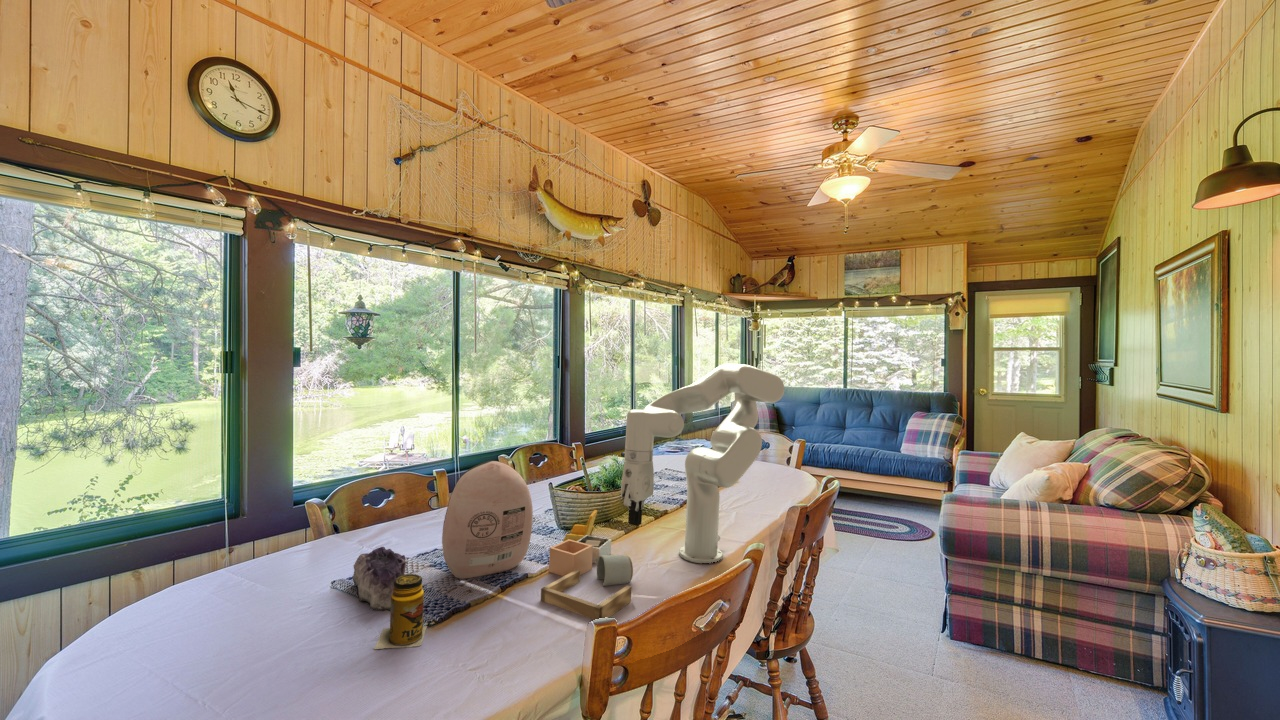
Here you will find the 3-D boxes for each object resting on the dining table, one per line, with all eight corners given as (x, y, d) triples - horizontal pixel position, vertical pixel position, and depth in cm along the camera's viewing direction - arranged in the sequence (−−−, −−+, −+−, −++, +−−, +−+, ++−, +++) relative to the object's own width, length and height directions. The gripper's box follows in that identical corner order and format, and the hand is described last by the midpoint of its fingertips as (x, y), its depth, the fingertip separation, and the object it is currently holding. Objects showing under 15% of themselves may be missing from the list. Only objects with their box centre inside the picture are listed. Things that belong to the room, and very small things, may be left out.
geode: (421, 604, 121) (417, 562, 120) (365, 624, 114) (360, 580, 113) (402, 568, 137) (398, 531, 136) (352, 584, 131) (347, 545, 130)
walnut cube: (586, 553, 152) (587, 539, 152) (600, 554, 152) (600, 541, 152) (583, 559, 148) (584, 544, 148) (597, 560, 148) (598, 546, 148)
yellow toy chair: (568, 534, 170) (569, 505, 170) (597, 536, 169) (598, 508, 168) (558, 545, 160) (559, 515, 159) (589, 548, 158) (590, 518, 158)
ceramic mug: (634, 587, 133) (635, 558, 133) (604, 591, 130) (605, 561, 130) (620, 572, 143) (620, 544, 143) (591, 575, 140) (592, 547, 140)
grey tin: (585, 551, 155) (586, 534, 155) (610, 556, 152) (611, 539, 152) (572, 561, 148) (573, 543, 148) (598, 566, 145) (599, 548, 145)
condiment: (421, 646, 104) (423, 585, 104) (373, 650, 102) (375, 587, 102) (427, 627, 111) (429, 569, 111) (383, 630, 109) (385, 572, 109)
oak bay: (575, 583, 134) (576, 569, 134) (631, 601, 126) (631, 586, 126) (540, 603, 123) (541, 588, 123) (598, 624, 115) (599, 608, 114)
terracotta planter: (567, 564, 146) (568, 539, 145) (591, 571, 142) (592, 545, 141) (548, 574, 139) (549, 547, 139) (573, 582, 135) (574, 555, 134)
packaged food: (514, 553, 152) (518, 448, 151) (541, 580, 135) (546, 462, 135) (434, 568, 140) (438, 454, 139) (453, 599, 123) (457, 470, 123)
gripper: (636, 461, 134) (632, 534, 134) (664, 454, 147) (660, 520, 147) (611, 457, 138) (607, 528, 138) (640, 450, 151) (637, 515, 151)
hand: (634, 524), depth 142 cm, fingers closed
